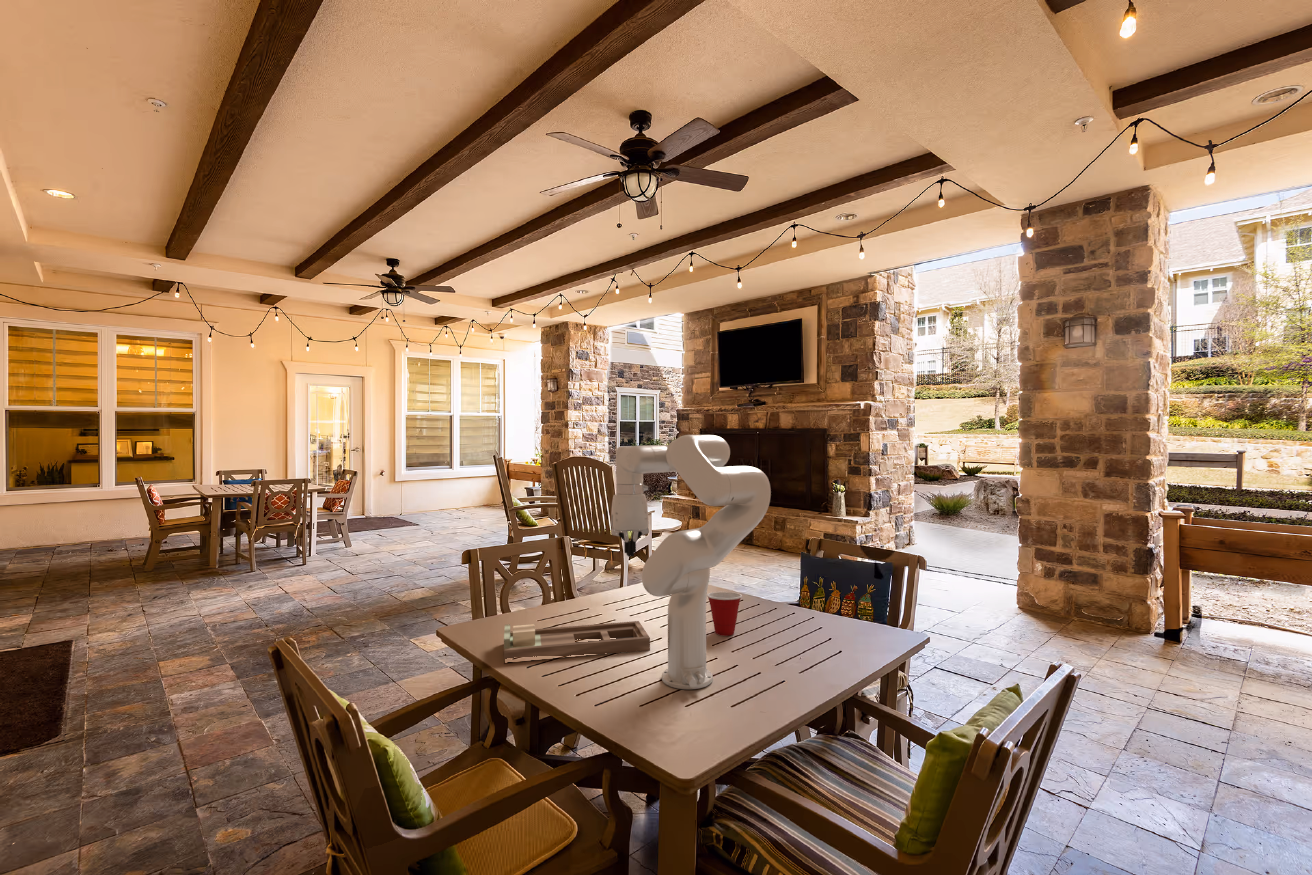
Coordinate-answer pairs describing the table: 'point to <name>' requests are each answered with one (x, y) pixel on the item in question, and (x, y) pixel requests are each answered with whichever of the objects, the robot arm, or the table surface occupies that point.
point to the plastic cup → (724, 611)
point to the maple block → (523, 635)
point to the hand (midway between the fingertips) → (630, 555)
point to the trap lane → (564, 644)
